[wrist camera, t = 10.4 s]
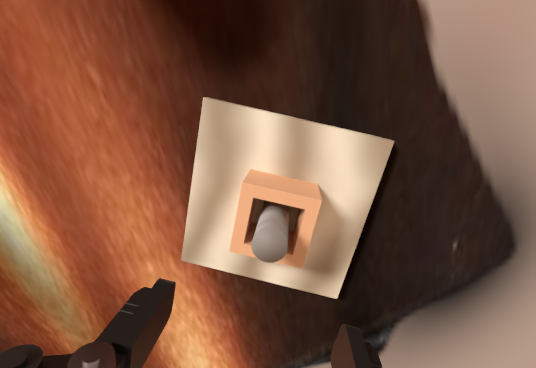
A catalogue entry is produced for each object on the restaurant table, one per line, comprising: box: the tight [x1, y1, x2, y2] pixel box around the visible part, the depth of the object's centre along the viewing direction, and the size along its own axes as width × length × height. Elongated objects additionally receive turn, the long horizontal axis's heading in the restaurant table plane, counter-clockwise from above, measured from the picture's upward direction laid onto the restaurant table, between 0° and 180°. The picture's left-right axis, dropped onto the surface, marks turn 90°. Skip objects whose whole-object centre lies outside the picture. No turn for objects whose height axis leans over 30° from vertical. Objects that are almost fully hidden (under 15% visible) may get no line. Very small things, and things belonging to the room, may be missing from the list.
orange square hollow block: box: [229, 169, 322, 269], centre depth 23 cm, size 6×6×4 cm
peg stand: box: [181, 97, 394, 299], centre depth 22 cm, size 16×16×8 cm
